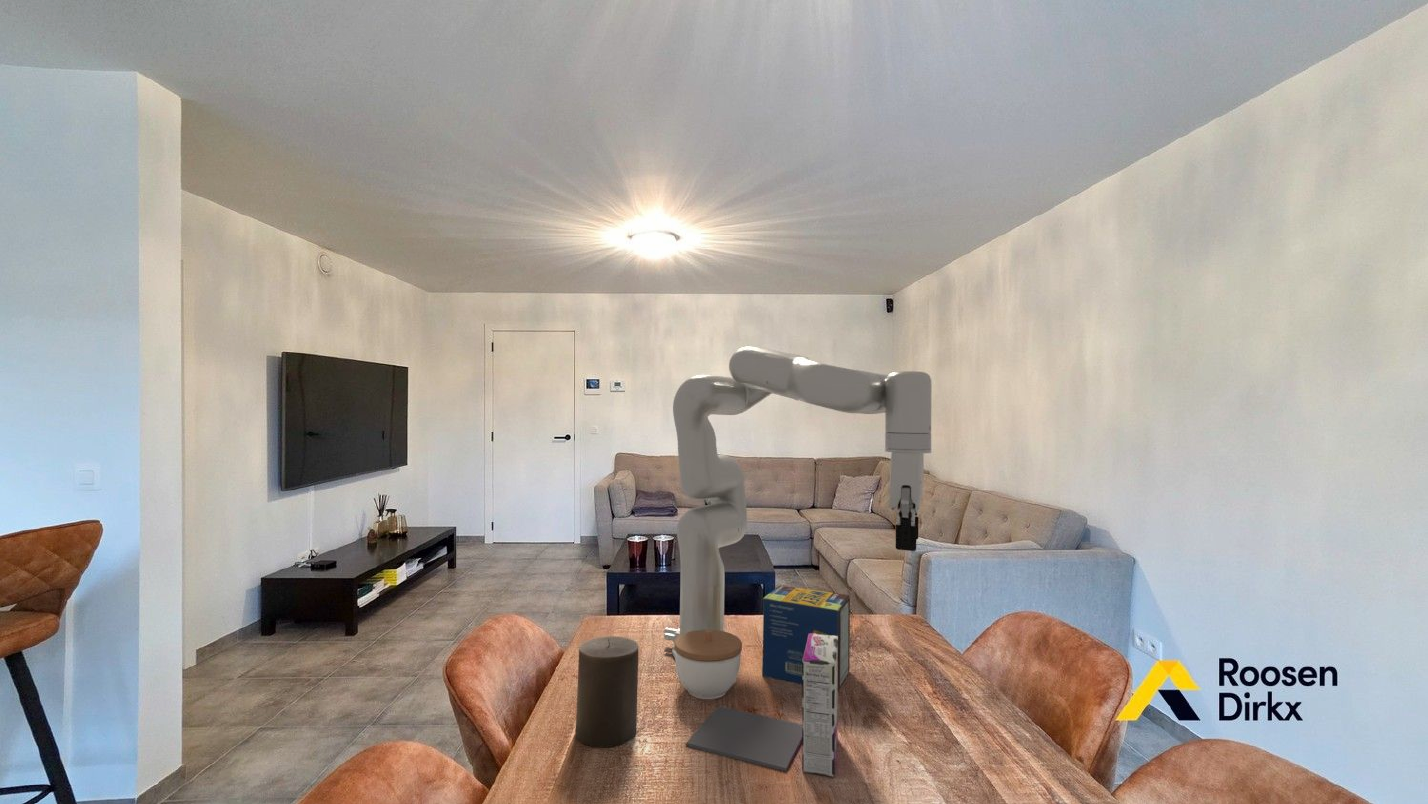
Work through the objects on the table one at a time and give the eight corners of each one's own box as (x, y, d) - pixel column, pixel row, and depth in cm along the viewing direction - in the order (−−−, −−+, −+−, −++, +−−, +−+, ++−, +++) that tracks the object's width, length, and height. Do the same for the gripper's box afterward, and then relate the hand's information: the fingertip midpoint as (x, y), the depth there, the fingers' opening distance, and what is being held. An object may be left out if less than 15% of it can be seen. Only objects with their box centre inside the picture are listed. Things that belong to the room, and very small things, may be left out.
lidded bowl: (747, 704, 106) (748, 642, 106) (677, 709, 104) (678, 645, 104) (733, 674, 118) (734, 618, 118) (670, 677, 116) (671, 620, 116)
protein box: (777, 657, 127) (779, 584, 127) (850, 671, 120) (851, 594, 121) (760, 676, 117) (761, 597, 118) (838, 693, 111) (839, 609, 111)
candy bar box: (806, 733, 96) (808, 631, 97) (838, 737, 95) (839, 634, 96) (799, 773, 86) (801, 658, 86) (834, 779, 84) (836, 662, 85)
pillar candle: (610, 754, 89) (614, 653, 90) (562, 736, 94) (565, 640, 95) (648, 726, 98) (651, 634, 98) (602, 711, 103) (605, 623, 103)
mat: (686, 745, 92) (686, 742, 92) (718, 708, 104) (718, 705, 104) (786, 771, 86) (786, 768, 86) (808, 728, 98) (808, 725, 98)
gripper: (889, 441, 111) (888, 533, 111) (880, 444, 95) (879, 552, 95) (931, 442, 108) (931, 536, 108) (930, 446, 92) (930, 557, 92)
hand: (907, 544), depth 101 cm, fingers open, 9 cm apart
